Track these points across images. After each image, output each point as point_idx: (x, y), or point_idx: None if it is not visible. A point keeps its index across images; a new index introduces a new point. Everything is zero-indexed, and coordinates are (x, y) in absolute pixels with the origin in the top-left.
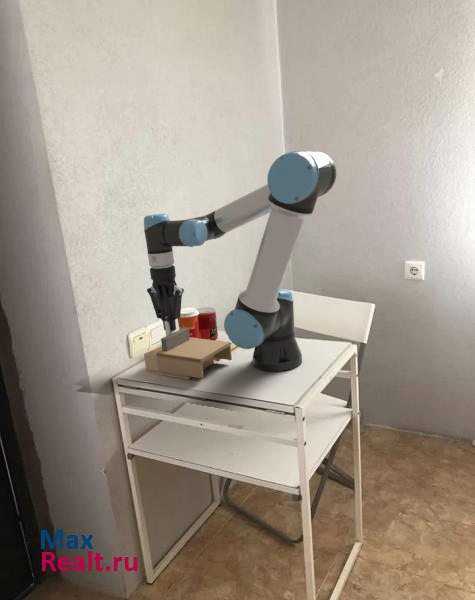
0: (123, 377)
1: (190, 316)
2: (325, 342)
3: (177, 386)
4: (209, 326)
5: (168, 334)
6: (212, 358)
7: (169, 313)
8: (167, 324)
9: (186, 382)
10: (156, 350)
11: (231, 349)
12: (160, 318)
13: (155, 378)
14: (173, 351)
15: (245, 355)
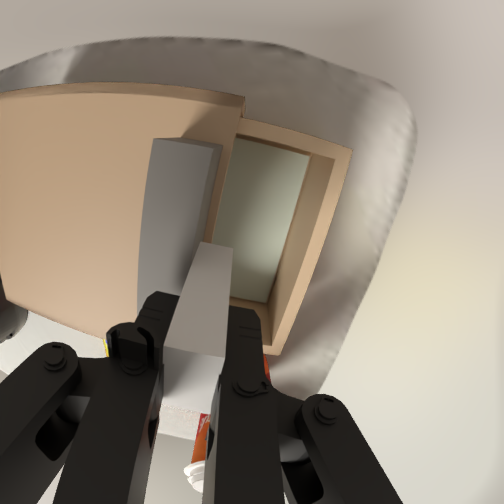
0: (386, 90)
1: (199, 463)
2: (5, 369)
3: (124, 43)
4: None
5: (203, 268)
6: None
7: (89, 430)
8: (183, 325)
9: (105, 81)
10: (310, 228)
11: (106, 355)
12: (298, 401)
13: (246, 82)
14: (140, 143)
15: None
